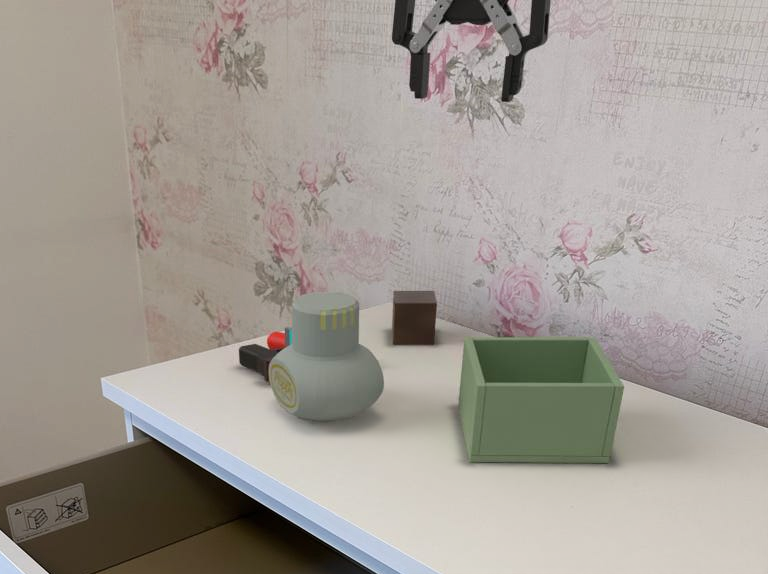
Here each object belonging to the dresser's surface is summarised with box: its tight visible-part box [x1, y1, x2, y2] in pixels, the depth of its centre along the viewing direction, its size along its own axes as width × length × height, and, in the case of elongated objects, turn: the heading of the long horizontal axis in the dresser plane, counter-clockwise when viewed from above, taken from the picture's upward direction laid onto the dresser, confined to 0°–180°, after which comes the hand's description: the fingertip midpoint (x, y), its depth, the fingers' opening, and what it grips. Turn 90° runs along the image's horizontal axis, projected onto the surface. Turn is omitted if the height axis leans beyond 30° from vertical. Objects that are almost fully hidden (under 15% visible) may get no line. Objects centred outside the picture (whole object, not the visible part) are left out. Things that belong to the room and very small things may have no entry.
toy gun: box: [238, 326, 292, 383], centre depth 96 cm, size 10×12×5 cm
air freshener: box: [269, 291, 385, 422], centre depth 85 cm, size 11×8×10 cm
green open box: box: [457, 336, 625, 464], centre depth 81 cm, size 11×11×7 cm
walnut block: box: [391, 290, 438, 345], centre depth 102 cm, size 4×4×4 cm
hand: (463, 99), depth 91 cm, fingers open, 8 cm apart
